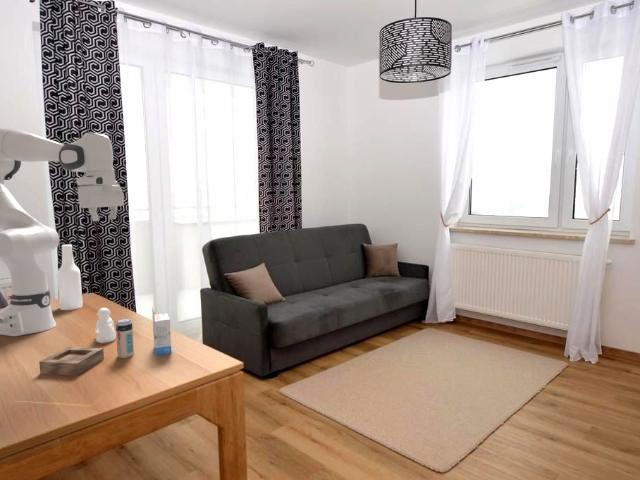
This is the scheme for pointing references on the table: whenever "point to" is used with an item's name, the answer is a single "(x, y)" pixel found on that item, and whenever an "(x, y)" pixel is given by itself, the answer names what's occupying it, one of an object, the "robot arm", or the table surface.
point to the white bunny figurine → (105, 327)
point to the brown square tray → (71, 361)
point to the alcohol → (69, 281)
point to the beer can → (124, 338)
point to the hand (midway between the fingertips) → (104, 220)
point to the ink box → (161, 333)
